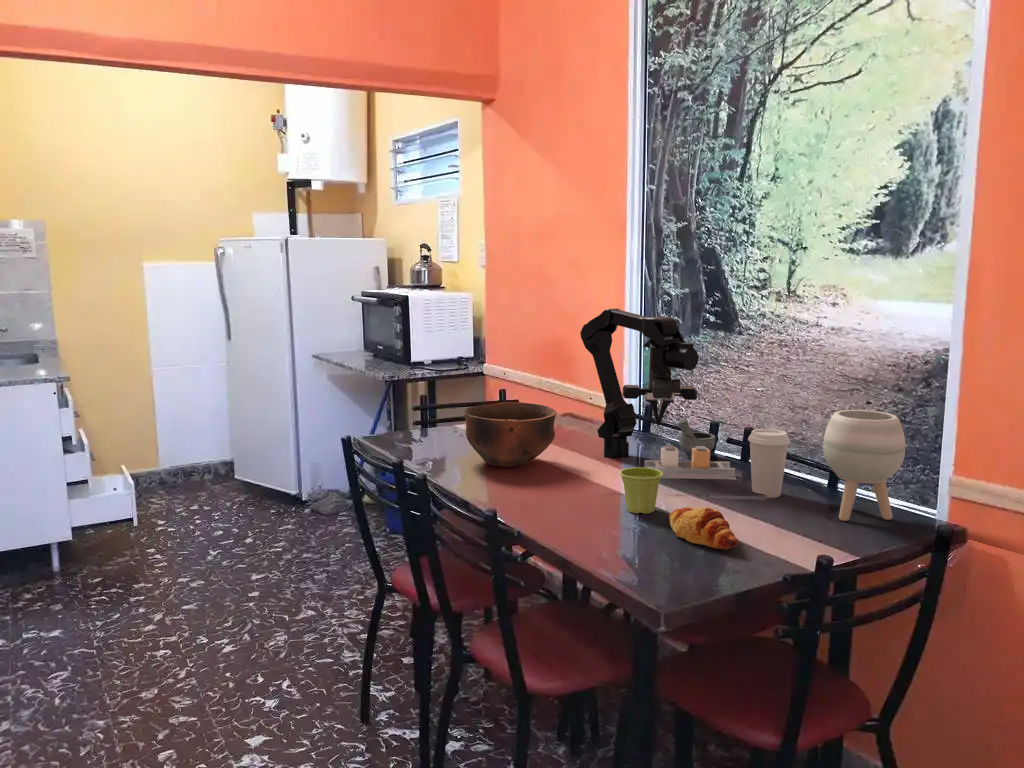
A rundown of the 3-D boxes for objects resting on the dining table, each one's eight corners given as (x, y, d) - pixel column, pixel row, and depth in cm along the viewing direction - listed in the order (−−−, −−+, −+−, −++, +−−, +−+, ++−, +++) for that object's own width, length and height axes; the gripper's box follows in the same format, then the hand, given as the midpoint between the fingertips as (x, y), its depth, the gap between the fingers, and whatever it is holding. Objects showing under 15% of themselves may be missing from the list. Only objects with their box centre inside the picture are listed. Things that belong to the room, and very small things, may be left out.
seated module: (662, 473, 208) (662, 448, 207) (660, 469, 212) (661, 445, 211) (677, 474, 208) (678, 448, 207) (675, 470, 212) (676, 445, 211)
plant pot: (610, 509, 181) (610, 471, 180) (638, 501, 187) (639, 465, 186) (642, 519, 174) (643, 480, 173) (670, 511, 180) (671, 473, 179)
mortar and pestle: (700, 454, 233) (702, 413, 231) (721, 461, 224) (722, 419, 223) (667, 458, 229) (668, 416, 227) (687, 465, 220) (688, 422, 218)
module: (693, 474, 208) (694, 449, 207) (691, 470, 212) (692, 445, 211) (709, 474, 208) (710, 449, 207) (706, 470, 211) (707, 445, 211)
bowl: (498, 480, 205) (498, 422, 203) (447, 461, 225) (446, 407, 223) (574, 466, 220) (574, 411, 217) (519, 449, 239) (519, 398, 237)
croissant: (659, 540, 172) (645, 509, 169) (694, 513, 175) (681, 483, 172) (723, 572, 152) (708, 539, 150) (762, 541, 155) (747, 508, 153)
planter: (829, 526, 169) (835, 421, 166) (811, 503, 185) (817, 407, 182) (911, 529, 167) (919, 423, 164) (886, 506, 183) (893, 409, 180)
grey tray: (647, 480, 205) (648, 469, 204) (643, 468, 217) (643, 458, 216) (736, 482, 203) (736, 471, 203) (727, 470, 215) (727, 459, 215)
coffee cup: (792, 492, 194) (795, 431, 192) (780, 502, 187) (784, 438, 184) (752, 486, 200) (755, 426, 197) (739, 495, 192) (742, 433, 190)
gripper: (626, 369, 204) (624, 430, 206) (702, 371, 203) (699, 432, 205) (623, 363, 215) (621, 421, 217) (694, 364, 214) (692, 422, 216)
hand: (658, 424), depth 214 cm, fingers closed
